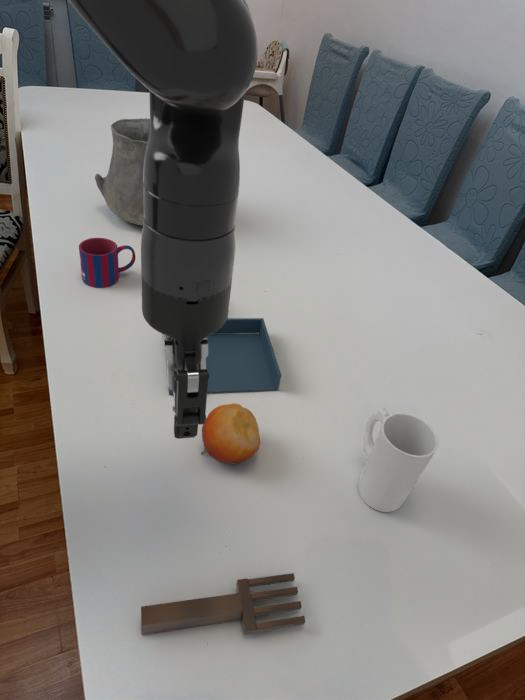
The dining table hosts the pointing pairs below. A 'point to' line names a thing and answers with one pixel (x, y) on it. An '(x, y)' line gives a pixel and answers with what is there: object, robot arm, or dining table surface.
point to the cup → (101, 261)
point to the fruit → (230, 434)
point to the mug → (394, 458)
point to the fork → (225, 609)
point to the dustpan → (241, 358)
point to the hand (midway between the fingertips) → (181, 403)
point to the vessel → (126, 170)
